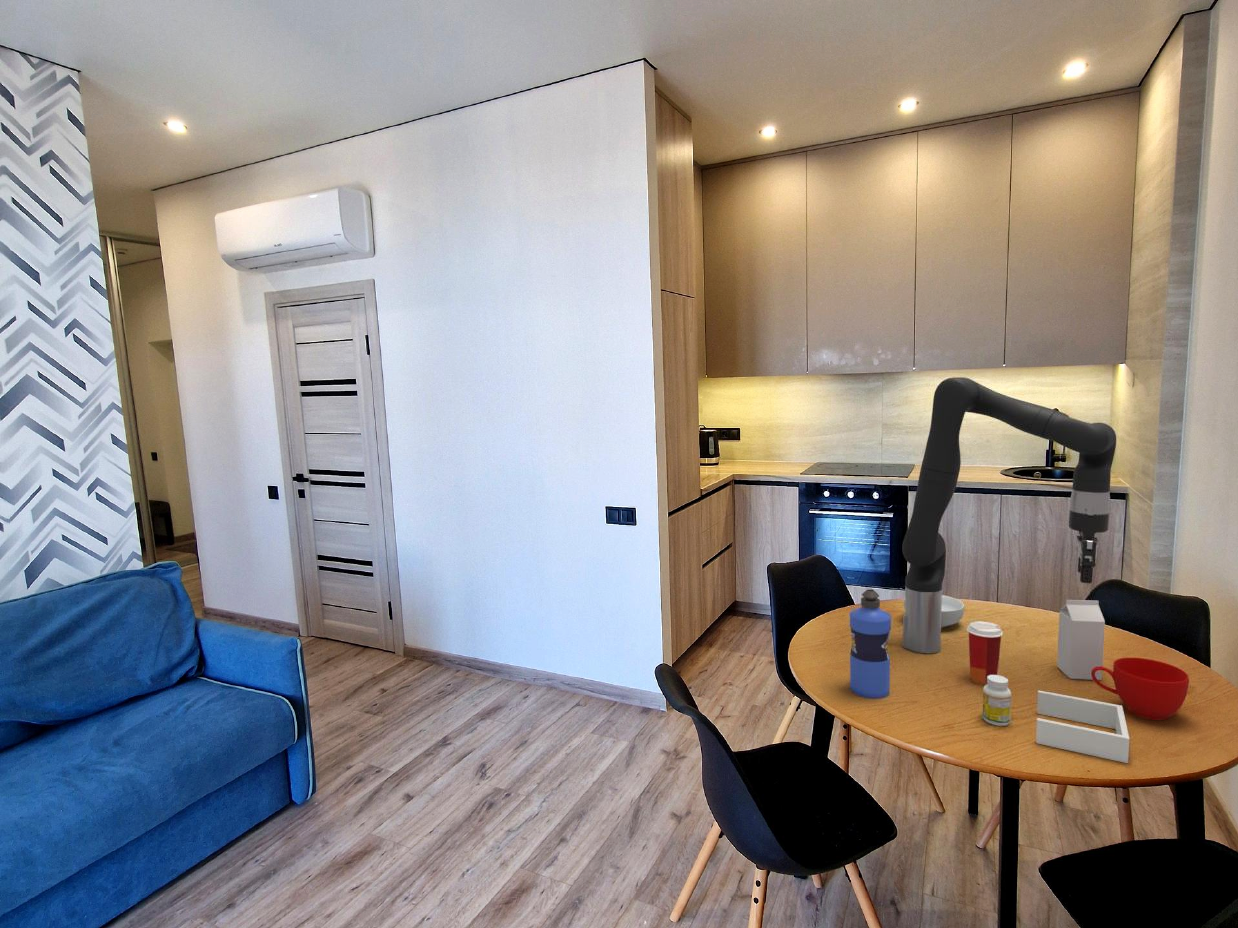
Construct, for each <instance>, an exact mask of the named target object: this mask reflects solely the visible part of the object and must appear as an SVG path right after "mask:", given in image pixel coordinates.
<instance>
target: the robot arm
mask: <svg viewBox="0 0 1238 928" xmlns="http://www.w3.org/2000/svg"><path fill="white" fill-rule="evenodd" d="M931 410H932V411H931V420H930V428H929V433H928V437H927V441H926V444H925V445H926V446H925V448H924V454H923V458H922V462H921V467H920V471H919V476H918V482H917V488H916V492H915V496H914V502H913V509H912V513H911V517H910V520H909V523H908V527H907V529H906V532H905V535H904V539H903V541H902V546H901V547H902V549H901V550H902V554H903V557H904V559H905V560H906V561H907V563H908V564H909V567H908V568H909V569H908V571H907V574H906V576H905V580H904V581H905V582H904V583H905V584H904V587H905V589H904V594H905V595H904V598H905V609H904V613H903V616H902V617H903V618H902V648H903V649H908V650H909V651H911V652H916V653H919V654H935V653H939V652H940V651H941V645H942V628H941V608H942V595H943V581H944V579H945V573H946V560H947V559H946V558H947V557H946V556H947V555H946V553H947V551H946V550H947V548H946V542H945V539H944V538H943V536H942V535H941V533H940V532H939V531H940V525H941V521H942V518H943V516H944V514H945V511H947V508H948V506H949V503H950V502H951V500H952V498H953V496H954V493H955V491H956V487H957V483H958V480H959V477H960V476H959V474H960V471H961V465H962V462H961V461H962V459H961V458H962V457H961V448H960V432H961V429H962V428H961V427H962V424H963V420H964V417H965V415H966V413H971V414H976V415H983V416H986V417H990V418H993V419H996V420H998V421H1000V422H1003V423H1005V424H1006V425H1009V426H1010V427H1012V428H1015V429H1017V430H1019V431H1021V432H1024V433H1027V434H1030V435H1033V436H1035V437H1039V438H1041V439H1044V440H1047V441H1051V442H1054V443H1056V444H1058V445H1060V446H1063V447H1064V448H1067V449H1068V450H1072V451H1074V452H1075V453H1079V454H1078V462H1077V465H1076V466H1075V468H1074V470H1073V474H1072V475H1073V476H1072V487H1071V488H1072V489H1071V495H1070V501H1069V513H1068V514H1069V515H1068V528H1069V529H1071V530H1073V531H1077V532H1078V535H1076V538H1075V539H1076V541H1075V542H1076V551H1077V554H1076V555H1077V557H1078V559H1077V572H1078V573H1079V574H1080V575H1079V581H1080V582H1081V583H1082V584H1083V583H1084V584H1088V585H1089V584H1092V583H1093V573H1094V568H1095V567H1096V565H1097V564H1096V559H1097V557H1098V556H1097V555H1098V546H1099V539H1098V537H1096V536H1095V535H1096V534H1097V533H1099V534H1102V533H1106V532H1108V530H1109V524H1110V522H1109V521H1110V508H1111V495H1110V490H1111V473H1112V472H1111V470H1112V465H1113V462H1114V458H1115V454H1116V449H1117V448H1116V447H1117V435H1116V431H1115V430H1114V428H1113V427H1112V426H1110V425H1109V424H1107V423H1105V422H1091V423H1090V422H1086V421H1083V420H1079V419H1076V418H1073V417H1070V416H1069V414H1066V413H1065V412H1062V411H1059V410H1056V409H1054V408H1053V409H1052V408H1049V407H1046V406H1042V405H1039V404H1036V403H1031V402H1029V401H1024V400H1022V399H1021V400H1020V399H1018V398H1015V397H1011V396H1008V395H1005V394H1002V393H1000V392H998V391H995V390H993V389H991V388H990V387H987V386H986V385H982V384H981V383H979V382H977V381H975V380H973V379H971V378H969V377H963V376H960V377H956V376H955V377H954V376H953V377H948V378H946V379H943V380H942V381H941V382H940V383H939V384H938V385H937V386H936V389H935V390H934V393H933V401H932V409H931Z"/></svg>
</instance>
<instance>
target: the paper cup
mask: <svg viewBox="0 0 1238 928" xmlns="http://www.w3.org/2000/svg"><path fill="white" fill-rule="evenodd" d="M966 632H967V633H968V650H969V651H968V652H969V672H970V674H969V675H970V680H971V681H972V682H973V683H974V684H977V685H981V686H985V685H987V684H988V683H987V676H989V675H998V672H999V671H998V670H999V663H1000V661H999V660H1000V652H1001V641H1002V636H1003V631H1002V629H1001V627H1000V626H999V625H998V624H997V623H992V622H989V621H981V620H980V621H979V620H978V621H973V622H970V623H969V624H968V626H967V627H966Z"/></svg>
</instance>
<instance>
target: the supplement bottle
mask: <svg viewBox="0 0 1238 928" xmlns="http://www.w3.org/2000/svg"><path fill="white" fill-rule="evenodd" d="M987 683H988V684H987V685H983V689H982V690H983V692H982V719H983V720H984V721H985V722H987V723H988V724H990V725H994V726H996V727H997V726H998V727H1004V726H1008V725H1010V723H1011V715H1012V714H1011V713H1012V712H1011V711H1012V692H1011V689H1009V679H1008V678H1006V677H1005V676H1002V675H999V674H997V675H989V676H987Z"/></svg>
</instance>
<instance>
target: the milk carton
mask: <svg viewBox="0 0 1238 928" xmlns="http://www.w3.org/2000/svg"><path fill="white" fill-rule="evenodd" d="M1099 602H1100V601H1099V600H1092V599H1091V600H1089V599H1087V600H1083V599H1081V600H1080V599H1065V603H1064V605H1063V606H1062V608H1060V609H1059V610H1058V611H1059V615H1058V633H1057V636H1058V638H1057V658H1056V659H1057V660H1056V666H1057V668H1058V669H1059V670H1060V671H1061V672H1062V673H1063V674H1064V675H1065V676H1067V678H1068V679H1070V680H1090V681H1091V680H1093V678H1092V676H1091V671H1092V669H1093V668H1094V667H1097V666H1102V667H1104V666H1103V665H1104V663H1103V661H1104V660H1103V659H1104V645H1105V644H1104V643H1105V624H1106V621H1105V618H1104V616H1103V615H1104V614H1103V613H1102V611H1101V608H1100V605H1099V604H1100V603H1099ZM1095 677H1096V678H1097V680H1098V681H1102V679H1103V670H1098V671H1096V672H1095ZM1093 681H1094V680H1093Z"/></svg>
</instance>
